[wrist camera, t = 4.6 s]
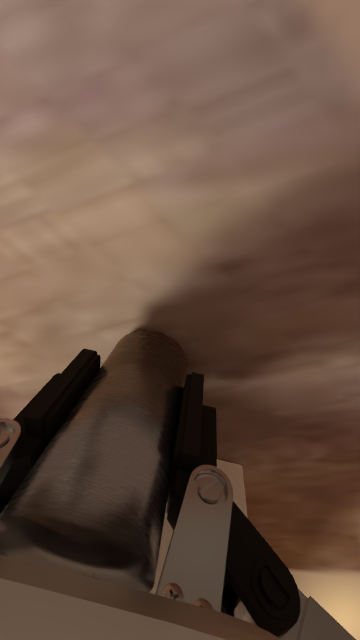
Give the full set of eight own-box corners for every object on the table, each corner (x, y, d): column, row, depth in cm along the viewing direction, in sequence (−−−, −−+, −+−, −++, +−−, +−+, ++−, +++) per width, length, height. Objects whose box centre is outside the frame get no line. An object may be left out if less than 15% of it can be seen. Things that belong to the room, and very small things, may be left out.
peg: (114, 323, 12) (-28, 495, 5) (194, 340, 12) (167, 543, 5) (111, 385, 14) (1, 579, 7) (180, 400, 14) (144, 615, 7)
